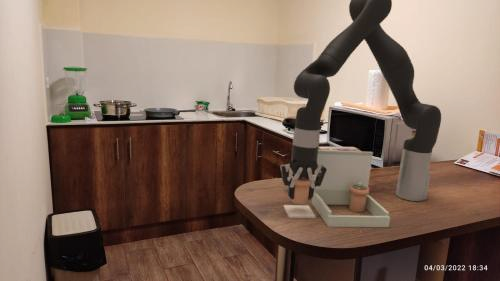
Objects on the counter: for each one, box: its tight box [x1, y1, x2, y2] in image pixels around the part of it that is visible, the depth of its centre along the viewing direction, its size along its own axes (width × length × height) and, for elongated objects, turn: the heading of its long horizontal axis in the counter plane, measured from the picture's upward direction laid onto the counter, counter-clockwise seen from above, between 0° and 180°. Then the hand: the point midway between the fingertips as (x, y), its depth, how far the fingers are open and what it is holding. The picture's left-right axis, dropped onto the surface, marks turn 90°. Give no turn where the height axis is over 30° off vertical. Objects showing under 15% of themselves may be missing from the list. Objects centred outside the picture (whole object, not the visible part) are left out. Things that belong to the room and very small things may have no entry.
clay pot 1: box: [291, 177, 312, 205], centre depth 110 cm, size 6×6×9 cm
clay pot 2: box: [348, 182, 370, 213], centre depth 116 cm, size 6×6×9 cm
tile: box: [283, 204, 317, 219], centre depth 111 cm, size 8×8×1 cm
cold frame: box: [311, 150, 391, 228], centre depth 110 cm, size 18×17×18 cm
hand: (300, 198), depth 111 cm, fingers closed on clay pot 1, 4 cm apart
